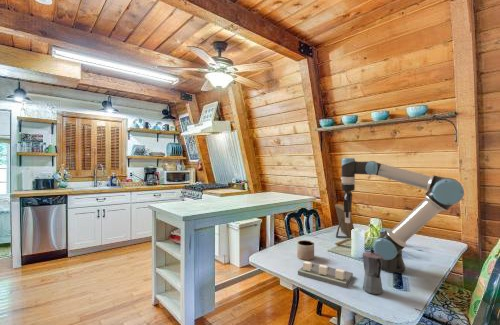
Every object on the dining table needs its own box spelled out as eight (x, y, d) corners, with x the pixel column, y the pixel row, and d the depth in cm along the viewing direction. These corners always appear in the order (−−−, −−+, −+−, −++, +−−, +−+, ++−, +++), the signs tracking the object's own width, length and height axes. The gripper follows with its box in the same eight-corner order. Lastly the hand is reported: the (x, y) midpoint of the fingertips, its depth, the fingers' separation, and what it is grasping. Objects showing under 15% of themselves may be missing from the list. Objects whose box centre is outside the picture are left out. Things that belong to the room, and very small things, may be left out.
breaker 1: (311, 269, 147) (311, 262, 147) (309, 271, 144) (309, 264, 144) (305, 267, 149) (305, 260, 149) (302, 269, 147) (303, 262, 147)
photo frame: (345, 231, 230) (345, 203, 230) (356, 239, 209) (356, 208, 208) (329, 231, 230) (329, 203, 230) (338, 239, 208) (337, 208, 208)
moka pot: (374, 283, 136) (375, 245, 136) (391, 299, 121) (392, 256, 120) (356, 283, 136) (357, 245, 135) (371, 299, 120) (372, 256, 120)
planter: (314, 261, 165) (314, 246, 165) (297, 259, 167) (297, 245, 167) (313, 254, 175) (314, 240, 175) (297, 253, 178) (297, 239, 177)
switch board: (352, 276, 144) (352, 272, 144) (345, 287, 131) (345, 283, 131) (307, 265, 158) (307, 262, 158) (297, 274, 146) (297, 270, 146)
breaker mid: (327, 273, 142) (327, 266, 142) (326, 275, 140) (326, 267, 140) (320, 271, 144) (320, 264, 144) (318, 273, 142) (318, 266, 142)
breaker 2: (344, 277, 137) (344, 270, 137) (343, 280, 134) (343, 272, 134) (336, 275, 139) (336, 268, 139) (335, 278, 137) (335, 270, 137)
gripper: (344, 182, 164) (343, 219, 164) (338, 184, 153) (338, 224, 154) (356, 183, 160) (356, 221, 160) (351, 185, 149) (351, 226, 149)
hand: (347, 222), depth 157 cm, fingers closed
